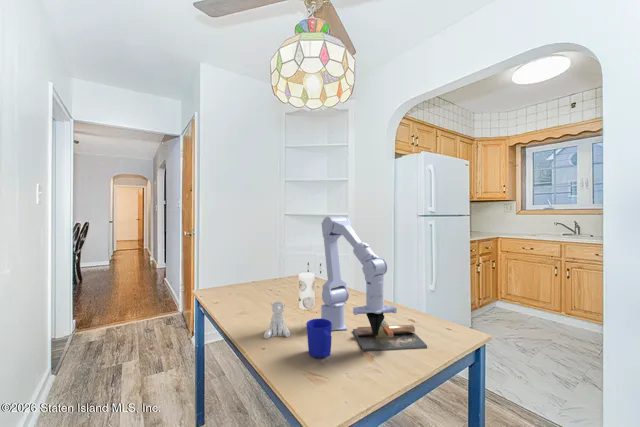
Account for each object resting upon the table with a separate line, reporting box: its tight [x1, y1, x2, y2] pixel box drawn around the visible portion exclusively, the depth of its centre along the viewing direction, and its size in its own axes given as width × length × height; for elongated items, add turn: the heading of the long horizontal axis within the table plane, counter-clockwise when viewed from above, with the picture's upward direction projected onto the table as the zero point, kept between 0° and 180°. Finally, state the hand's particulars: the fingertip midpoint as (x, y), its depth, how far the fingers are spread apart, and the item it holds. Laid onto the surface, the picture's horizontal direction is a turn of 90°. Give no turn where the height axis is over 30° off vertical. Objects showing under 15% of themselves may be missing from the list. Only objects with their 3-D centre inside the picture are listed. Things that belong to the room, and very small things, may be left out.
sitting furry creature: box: [263, 301, 291, 340], centre depth 109 cm, size 10×9×12 cm
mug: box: [305, 318, 333, 359], centre depth 92 cm, size 8×12×10 cm
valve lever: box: [381, 320, 393, 337], centre depth 101 cm, size 12×2×1 cm, turn 6°
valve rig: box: [352, 320, 428, 352], centre depth 104 cm, size 22×16×5 cm
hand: (374, 334), depth 97 cm, fingers closed
